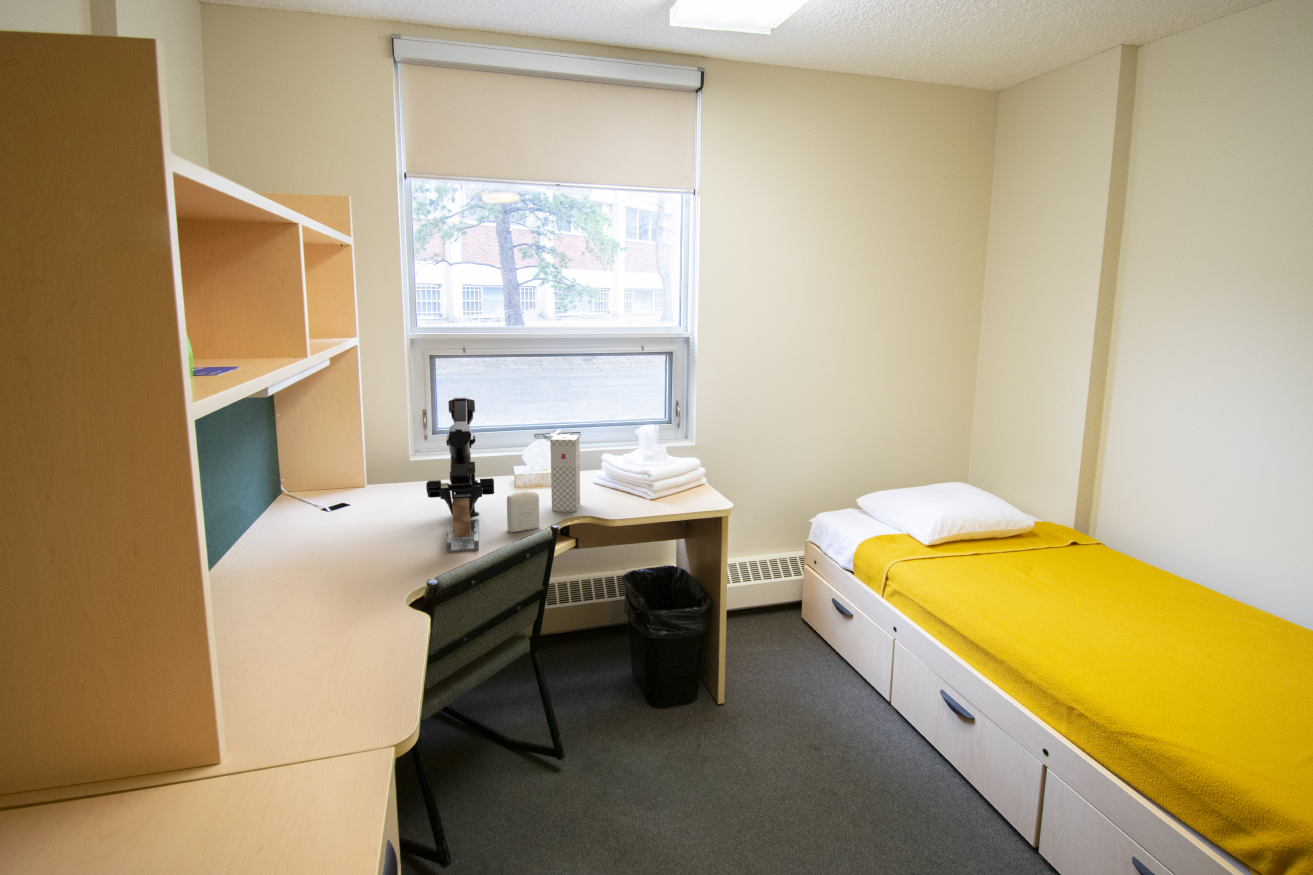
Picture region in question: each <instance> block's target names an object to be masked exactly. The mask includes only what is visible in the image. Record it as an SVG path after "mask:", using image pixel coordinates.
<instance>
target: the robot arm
mask: <svg viewBox="0 0 1313 875" xmlns="http://www.w3.org/2000/svg"><path fill="white" fill-rule="evenodd" d="M447 402H448V413H449V414H450V415H451V419H452V421H453V424H452V425H451V426H450V427H449V430H448V431H449V432H448V433H447V434H446V439H445V440H446V446H447V447H448V448H449V454H450V470H449V482H450V483H449V482H443V483H442V480H441V479H435V480H433V479H432V480H431V479H430V480H427V482H426V483H425V484H426V486H425V487H426V488H425V489H426V495H427V497H428V498H429V499H431V498H432V499H433V498H440V500H444V501H445V503H446V504H447V506H448V509H449V511H450V514H451V515H452V516H453V509H452V502H453V499H455V498H469V503H470V505H469V513H470V517H474V516H479V515H480V512H478V511H476V510H475V509H476V508H475V507H476V506H475V504H476V503H477V501H478V499H479V498H482V497H483V495H494V494H495V481H494V478H493V477H490V476H489V477H480V478H479V481H478V479H476V461H471V459H472V458H471V456H472V455H471V448H472V445H474V444H475V443H476V436H475V434H474V432H472V430H471V429H472V428H471V426H470V425H471V423H472V421H473V419H474V413H476V403H475V402H476V401H475V400H474V399H472V398H469V397H465V396H463V397H462V396H461V397H453V398H452V399H450V400H448V401H447Z"/></svg>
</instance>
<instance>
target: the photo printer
mask: <svg viewBox="0 0 1313 875" xmlns="http://www.w3.org/2000/svg"><path fill="white" fill-rule="evenodd" d="M506 516H507V522H506V523H507V532H509V533H516V532H522V531H527V530H534V529H539V528H540V497H539V493H538V492H536V491H534V490H520V491H516V492H513V493H511V494H509V495H507V497H506Z"/></svg>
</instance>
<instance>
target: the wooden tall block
mask: <svg viewBox="0 0 1313 875" xmlns="http://www.w3.org/2000/svg"><path fill="white" fill-rule="evenodd" d="M469 505H470V503H469V498H455V499H452V509H453V515H452V521H453V528H454V538H455V537H470V535H471V525H470V520H471V516H470V513H469Z"/></svg>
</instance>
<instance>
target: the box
mask: <svg viewBox="0 0 1313 875" xmlns="http://www.w3.org/2000/svg"><path fill="white" fill-rule="evenodd" d="M580 449H581V448H580V434H554V435H553V436H552V437H551V438H550V474H551V475H550V479H551V481H550V482H551V484H550V485H551V512H571V513H572V512H574V513H575V512H576V513H577V512H578V510H579V507H580V506H581V479H580V478H581V468H580V467H581V466H580V465H581V463H580V462H581V460H580V459H581V458H580V455H581V454H580Z"/></svg>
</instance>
